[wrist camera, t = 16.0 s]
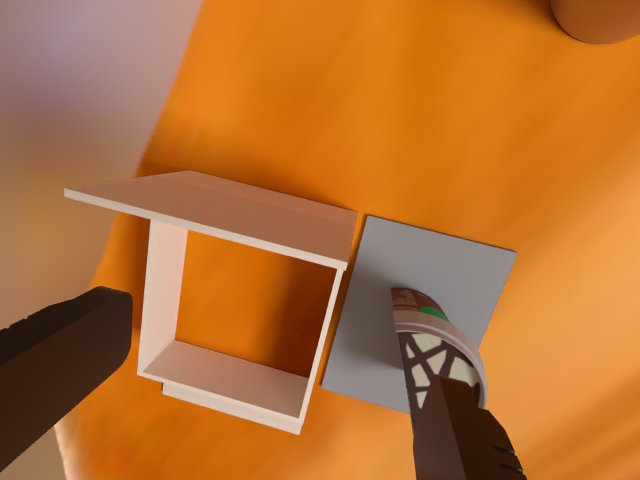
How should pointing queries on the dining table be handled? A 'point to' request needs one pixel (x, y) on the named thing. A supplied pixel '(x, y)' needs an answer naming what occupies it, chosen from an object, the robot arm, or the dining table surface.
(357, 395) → the slate mat
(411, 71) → the dining table surface
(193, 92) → the dining table surface
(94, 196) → the carton
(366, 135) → the dining table surface
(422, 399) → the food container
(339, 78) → the dining table surface
